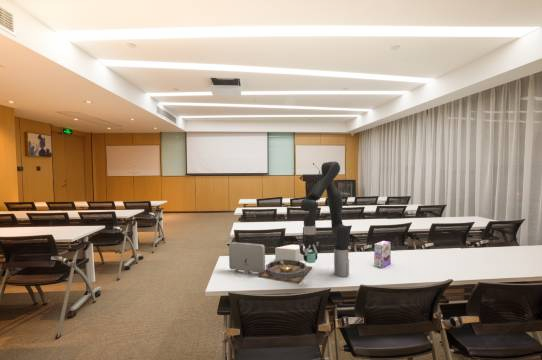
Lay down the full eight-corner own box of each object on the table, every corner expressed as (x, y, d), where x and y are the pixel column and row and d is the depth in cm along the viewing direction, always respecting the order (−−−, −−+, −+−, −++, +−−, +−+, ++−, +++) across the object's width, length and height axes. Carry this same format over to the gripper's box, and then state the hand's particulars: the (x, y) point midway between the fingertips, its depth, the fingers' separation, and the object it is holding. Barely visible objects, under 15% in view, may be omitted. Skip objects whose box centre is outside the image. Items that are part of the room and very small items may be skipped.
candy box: (382, 268, 189) (381, 245, 188) (374, 266, 193) (373, 243, 193) (391, 263, 198) (390, 241, 197) (383, 262, 202) (383, 240, 202)
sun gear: (294, 269, 186) (294, 265, 186) (290, 273, 178) (290, 269, 178) (282, 267, 190) (282, 264, 190) (277, 271, 182) (277, 268, 182)
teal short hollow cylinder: (315, 259, 166) (315, 251, 166) (315, 263, 160) (315, 254, 160) (305, 259, 167) (305, 251, 167) (305, 262, 161) (305, 254, 161)
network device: (227, 272, 187) (227, 244, 186) (234, 268, 195) (233, 241, 194) (261, 277, 177) (261, 246, 177) (266, 272, 185) (266, 243, 185)
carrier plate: (312, 268, 191) (312, 261, 191) (299, 283, 166) (298, 274, 166) (276, 263, 203) (275, 256, 203) (258, 277, 178) (258, 268, 177)
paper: (314, 261, 206) (314, 248, 206) (276, 264, 203) (276, 250, 203) (309, 256, 221) (309, 243, 220) (274, 258, 217) (274, 245, 217)
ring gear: (311, 266, 191) (311, 262, 191) (298, 281, 166) (298, 276, 166) (276, 262, 202) (276, 258, 202) (259, 274, 178) (259, 270, 178)
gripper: (317, 230, 169) (317, 257, 169) (296, 232, 164) (297, 260, 164) (323, 232, 162) (324, 260, 162) (301, 235, 157) (302, 264, 157)
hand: (310, 260), depth 163 cm, fingers closed on teal short hollow cylinder, 6 cm apart
